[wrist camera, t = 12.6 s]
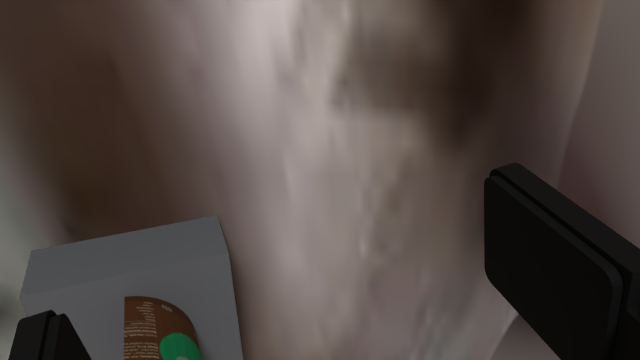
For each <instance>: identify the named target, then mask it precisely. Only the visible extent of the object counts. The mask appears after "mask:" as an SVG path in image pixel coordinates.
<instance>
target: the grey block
mask: <svg viewBox="0 0 640 360" xmlns="http://www.w3.org/2000/svg"><path fill="white" fill-rule="evenodd" d="M127 296H147V297H153V298H158V299H161V300H164V301H167V302H169V303H171V304H173V305H175V306H177V307H178V308H179V309H181V310H182V311H183V312H184V313H185V314H186V315H187V316H188V317H189V319H190V320H191V322H192V324H193V327H194V330H195V333H196V337H197V340H198V344H199V348H200V351H201V355H202V359H203V360H243V354H242V346H241V339H240V332H239V324H238V317H237V310H236V303H235V295H234V288H233V281H232V274H231V266H230V259H229V252H228V249H227V246H226V243H225V239H224V236H223V233H222V230H221V226H220V223H219V220H218V216H217V215H216V216H211V217H205V218H200V219H195V220H190V221H185V222H179V223H174V224H169V225H164V226H158V227H153V228H148V229H143V230H137V231H132V232H127V233H122V234H117V235H111V236H106V237H101V238H96V239H90V240H85V241H80V242H75V243H70V244H64V245H59V246H54V247H49V248H43V249H38V250H33V251H31V255H30V259H29V262H28V266H27V270H26V274H25V278H24V282H23V286H22V290H21V294H20V299H21V302H22V304H23V307H24V310H25V312H26V315H27V317H29V316H32V315H35V314H38V313H42V312H45V311H48V310H53V311H54V312H55V313H56V314H57V315H59V314H62V313H64V314H66V315H67V317H68V318H69V320H70V322H71V323H72V325H73V327H74V329H75V330H76V332H77V334H78V336H79V338H80V339H81V341H82V343H83V345H84V347H85V348H86V350H87V352H88V354H89V355H90V357H91V359H92V360H124V297H127Z"/></svg>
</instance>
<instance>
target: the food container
mask: <svg viewBox="0 0 640 360" xmlns="http://www.w3.org/2000/svg"><path fill="white" fill-rule="evenodd" d="M124 360H203V359H202V355H201V351H200V348H199V344H198V340H197V337H196V333H195V330H194V327H193V324H192V322H191V320H190V319H189V317H188V316H187V315H186V314H185V313H184V312H183V311H182V310H181V309H179V308H178V307H177V306H175V305H173V304H171V303H169V302H167V301H164V300H161V299H158V298H153V297H147V296H127V297H124Z"/></svg>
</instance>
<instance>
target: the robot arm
mask: <svg viewBox="0 0 640 360" xmlns="http://www.w3.org/2000/svg"><path fill="white" fill-rule="evenodd" d="M484 246H485V272H486V275H487V277H488V279H489V281H490V282H491V283H492V284H493V286H494V287H495V288H496V289H497V290H498V291H499V292H500V293H501V294H502V295H503V297H504V298H505V299H506V300H507V301H508V302H509V303H510V304H511V305H512V306H513V308H514V309H515V310H516V311H517V312H518V313H519V314H520V315H521V316H522V317H523V318H524V320H525V321H526V322H527V323H528V324H529V325H530V326H531V327H532V328H533V329H534V331H536V333H537V334H538V335H539V336H540V337H541V338H542V339H543V340H544V342H546V344H547V345H548V346H549V347H550V348H551V349H552V350H553V351H554V353H555V354H556V355H557V356H558V357H559V358H560V359H561V360H640V249H639V248H637V247H636V246H635V245H633V244H632V243H630V242H628V240H626V239H625V238H623V237H622V236H620V235H619V234H618V233H616V232H615V231H613V230H612V229H610V228H609V227H608V226H606V225H605V224H604V223H602V222H601V221H599V220H598V219H596V218H595V217H594V216H592V215H591V214H589V213H588V212H587V211H585V210H584V209H582V208H581V207H579V206H578V205H577V204H575V203H574V202H573V201H571V200H570V199H568V198H567V197H565V196H564V195H562V194H561V193H560V192H558V191H557V190H556V189H554V188H553V187H551V186H550V185H549V184H547V183H546V182H544V181H543V180H541V179H540V178H539V177H537V176H536V175H534V174H533V173H532V172H530V171H529V170H527V169H526V168H525V167H523V166H522V165H520V164H518V163H512V164H509V165H506V166H503V167H499V168H496V169H493V170H492V171H491V172H490V175H489V178H487V179H485V182H484ZM8 360H92V359H91V357H90V355H89V354H88V352H87V350H86V348H85V347H84V345H83V343H82V341H81V339H80V338H79V336H78V334H77V332H76V330H75V329H74V327H73V325H72V323H71V322H70V320H69V318H68V317H67V315H66V314H64V313H62V314H59V315H57V314H56V313H55V312H54V311H53V310H48V311H45V312H42V313H38V314H35V315H32V316H29V317H26V318H23V319H21V320H20V321H19V323H18V326H17V329H16V333H15V337H14V341H13V344H12V348H11V352H10V356H9V359H8Z"/></svg>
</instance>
